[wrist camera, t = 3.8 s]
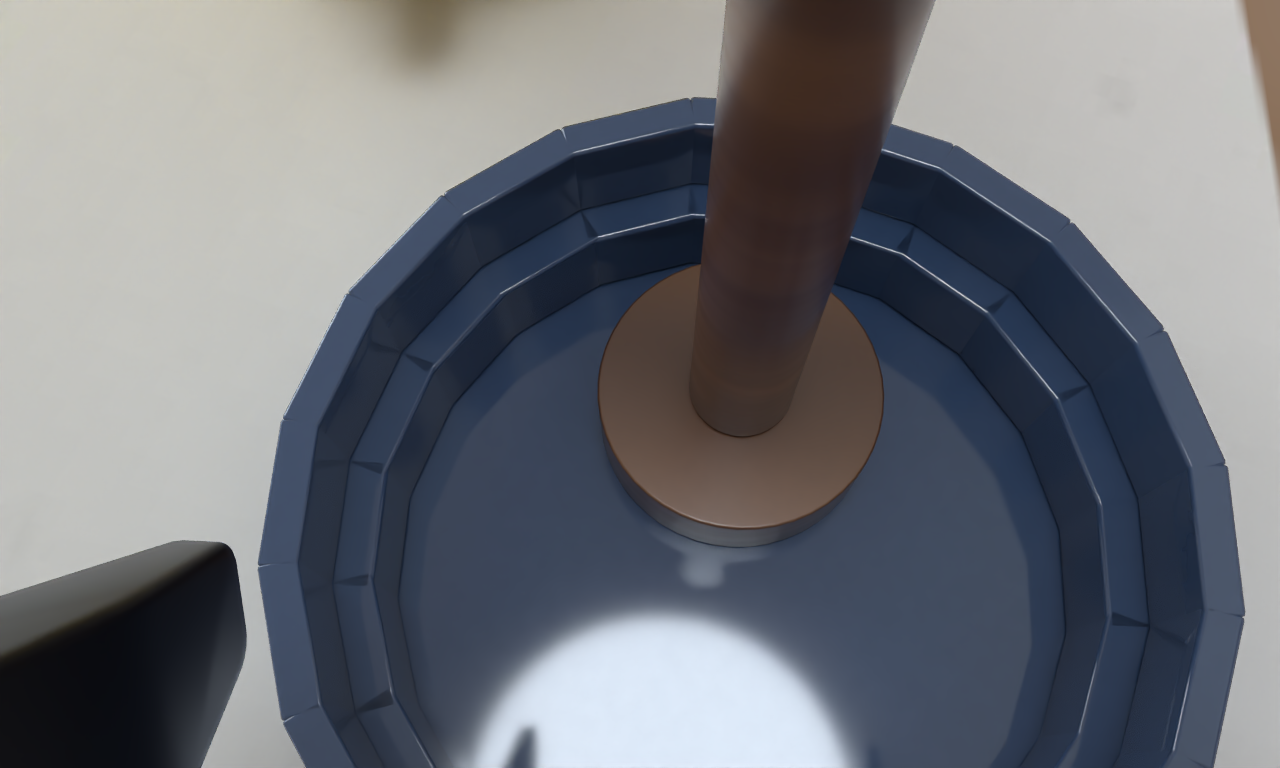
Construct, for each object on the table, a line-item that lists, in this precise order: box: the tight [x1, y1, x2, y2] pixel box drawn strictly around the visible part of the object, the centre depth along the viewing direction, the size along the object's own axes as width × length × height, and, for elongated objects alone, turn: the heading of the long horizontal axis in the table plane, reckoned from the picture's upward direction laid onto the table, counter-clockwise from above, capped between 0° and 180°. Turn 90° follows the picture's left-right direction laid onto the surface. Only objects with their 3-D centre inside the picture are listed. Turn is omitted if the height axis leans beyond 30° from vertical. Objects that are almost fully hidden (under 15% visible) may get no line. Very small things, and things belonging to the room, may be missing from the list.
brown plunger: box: [598, 0, 936, 547], centre depth 15 cm, size 5×5×14 cm
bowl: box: [258, 97, 1245, 768], centre depth 19 cm, size 14×14×4 cm
